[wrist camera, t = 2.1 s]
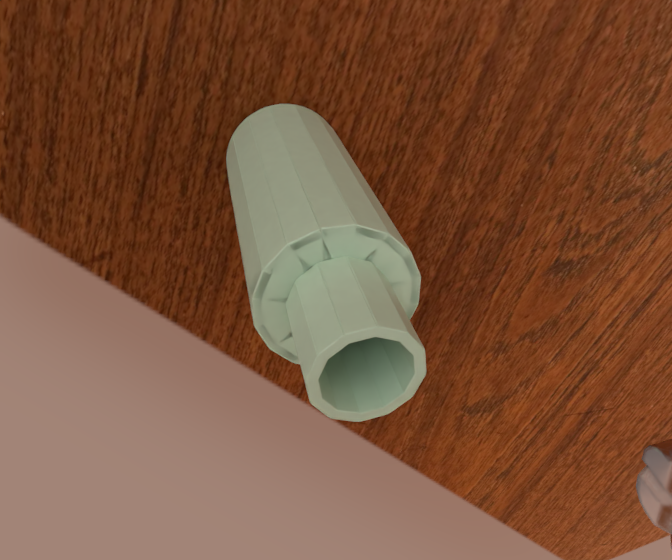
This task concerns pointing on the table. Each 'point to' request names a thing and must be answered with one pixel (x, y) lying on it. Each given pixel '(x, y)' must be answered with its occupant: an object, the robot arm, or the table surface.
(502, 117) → the table surface
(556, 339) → the table surface
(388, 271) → the bottle
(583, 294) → the table surface
